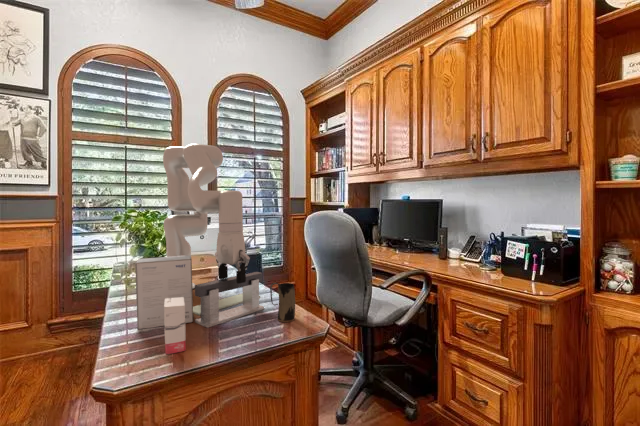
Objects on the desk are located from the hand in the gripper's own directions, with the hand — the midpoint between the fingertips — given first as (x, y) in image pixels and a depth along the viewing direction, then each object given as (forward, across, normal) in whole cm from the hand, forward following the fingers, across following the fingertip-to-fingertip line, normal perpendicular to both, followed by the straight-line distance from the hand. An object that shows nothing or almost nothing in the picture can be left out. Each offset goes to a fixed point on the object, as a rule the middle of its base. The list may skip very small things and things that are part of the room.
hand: (231, 280), depth 107 cm
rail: (+3, 0, 0) cm, 3 cm away
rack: (+12, -1, 0) cm, 12 cm away
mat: (+11, -13, +6) cm, 18 cm away
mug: (+12, +15, +8) cm, 21 cm away
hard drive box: (+12, -11, -16) cm, 23 cm away
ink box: (+12, +7, -23) cm, 27 cm away
